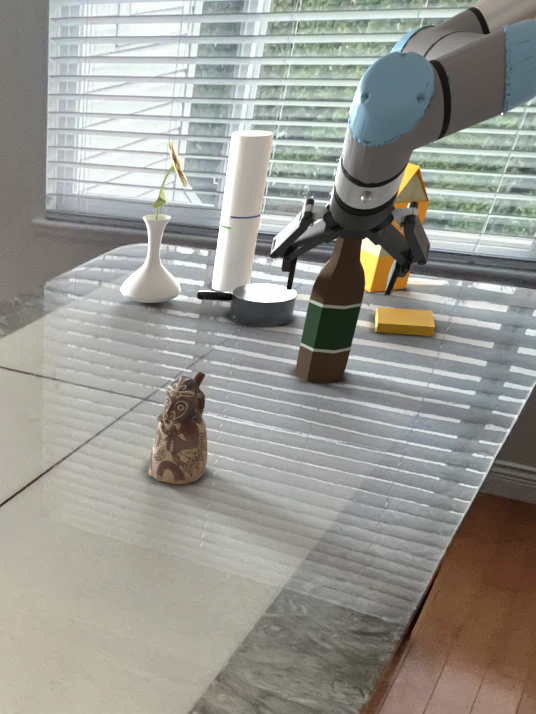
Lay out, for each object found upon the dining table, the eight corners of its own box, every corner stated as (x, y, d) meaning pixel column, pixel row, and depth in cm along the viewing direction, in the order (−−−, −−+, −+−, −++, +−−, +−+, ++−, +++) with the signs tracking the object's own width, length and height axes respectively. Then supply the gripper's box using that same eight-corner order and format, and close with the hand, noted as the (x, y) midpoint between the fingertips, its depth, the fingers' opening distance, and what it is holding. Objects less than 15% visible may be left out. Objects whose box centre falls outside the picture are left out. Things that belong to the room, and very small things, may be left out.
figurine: (136, 467, 108) (145, 372, 100) (180, 454, 111) (192, 360, 103) (171, 489, 104) (183, 391, 95) (216, 475, 106) (231, 378, 98)
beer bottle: (355, 373, 130) (400, 193, 114) (330, 387, 126) (373, 203, 110) (309, 361, 134) (346, 186, 118) (283, 375, 130) (318, 196, 114)
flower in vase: (165, 311, 155) (181, 149, 138) (109, 303, 159) (118, 145, 143) (192, 292, 163) (210, 137, 146) (138, 285, 167) (150, 134, 151)
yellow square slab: (429, 319, 147) (432, 310, 146) (432, 336, 141) (435, 326, 140) (375, 316, 149) (377, 307, 148) (375, 332, 143) (377, 323, 142)
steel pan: (293, 309, 153) (298, 285, 151) (290, 328, 146) (294, 303, 143) (198, 303, 158) (201, 280, 155) (190, 322, 150) (193, 297, 147)
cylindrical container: (242, 294, 161) (266, 137, 144) (206, 289, 164) (226, 135, 147) (253, 284, 166) (278, 131, 149) (218, 280, 168) (239, 129, 152)
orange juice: (381, 276, 167) (411, 156, 154) (406, 288, 161) (440, 164, 147) (345, 279, 166) (372, 159, 153) (369, 292, 160) (399, 168, 146)
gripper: (255, 209, 104) (246, 303, 125) (474, 216, 98) (426, 314, 119) (266, 151, 104) (255, 254, 125) (486, 154, 98) (436, 262, 119)
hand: (339, 283), depth 122 cm, fingers open, 13 cm apart
